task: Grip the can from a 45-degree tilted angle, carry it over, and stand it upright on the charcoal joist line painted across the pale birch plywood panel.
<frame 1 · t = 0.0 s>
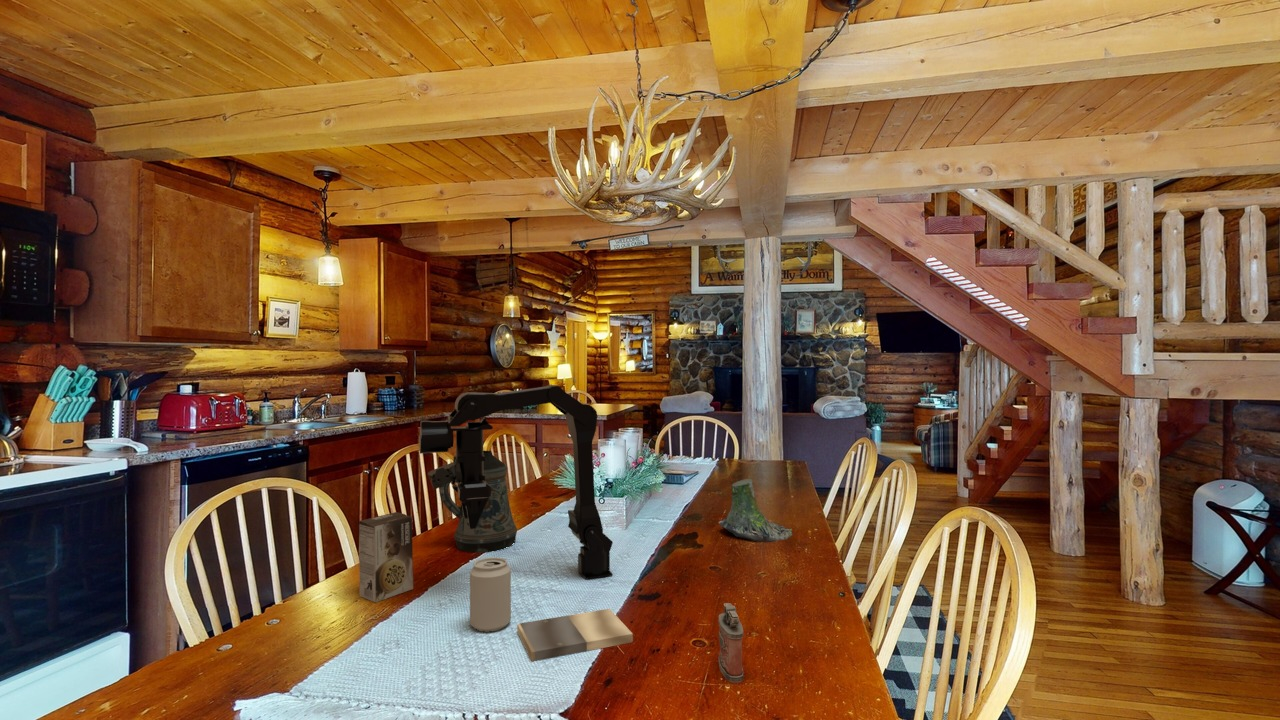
hand: (469, 523, 134), 15 cm above the table, tool pointing down, fingers open, 9 cm apart
subfloor panel: (573, 637, 112), on the table
coffee box: (386, 593, 134), on the table
can: (490, 626, 117), on the table
tree stump: (755, 534, 179), on the table
lighter: (730, 670, 101), on the table
beer stein: (481, 545, 168), on the table
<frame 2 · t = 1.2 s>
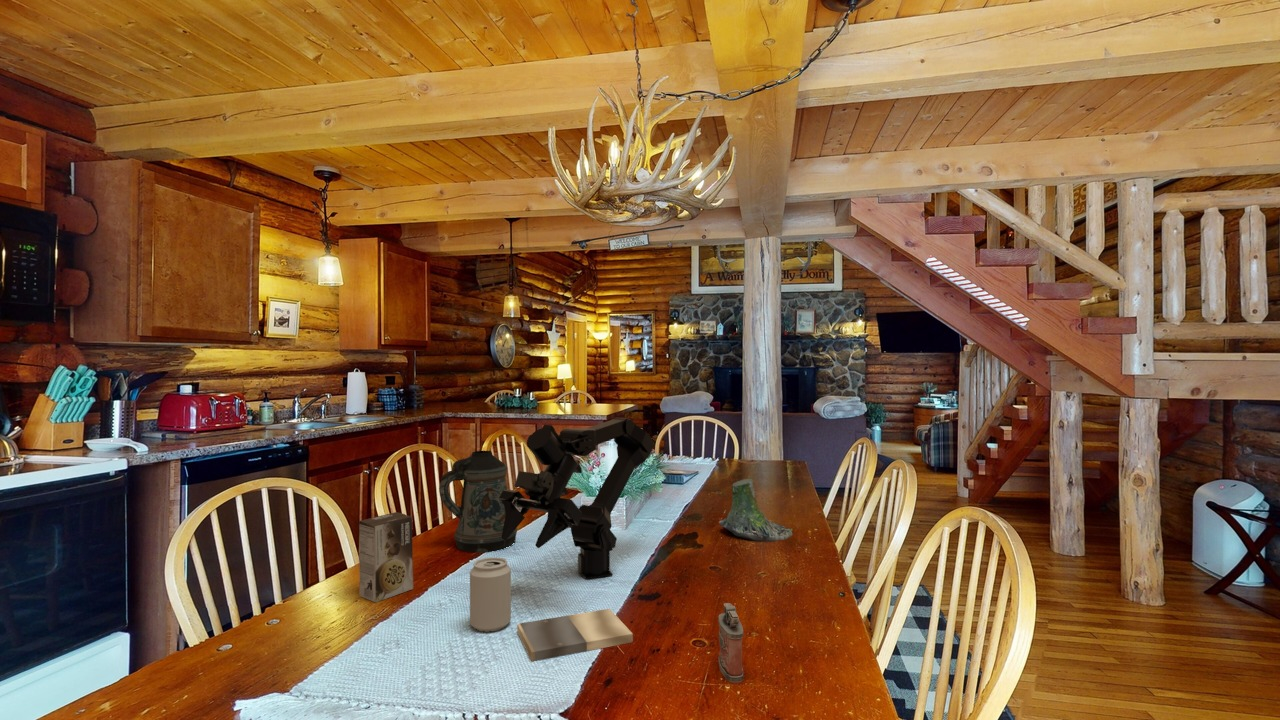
hand: (519, 543, 124), 13 cm above the table, tool tilted 45°, fingers open, 9 cm apart
nothing on the table moved.
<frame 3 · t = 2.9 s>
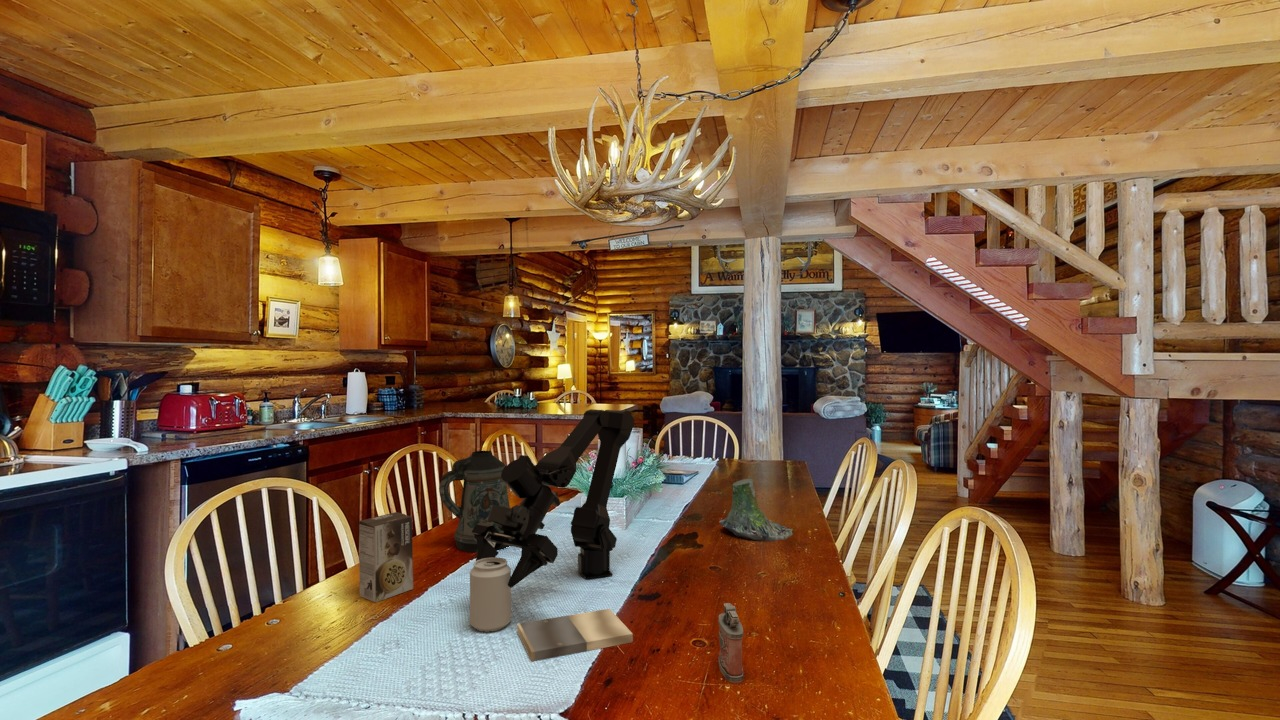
hand: (491, 581, 118), 8 cm above the table, tool tilted 45°, fingers open, 9 cm apart
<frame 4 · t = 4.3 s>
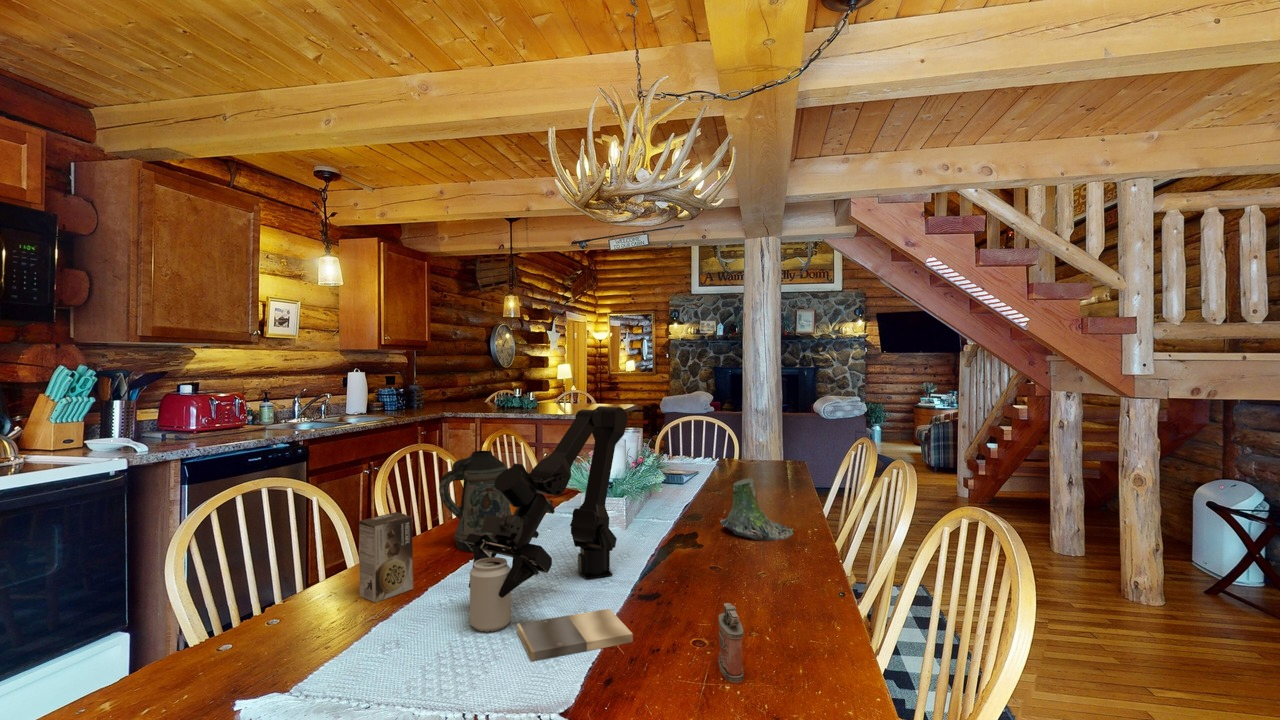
hand: (485, 592, 116), 7 cm above the table, tool tilted 45°, fingers closed on can, 7 cm apart
can: (490, 626, 117), on the table, touching gripper
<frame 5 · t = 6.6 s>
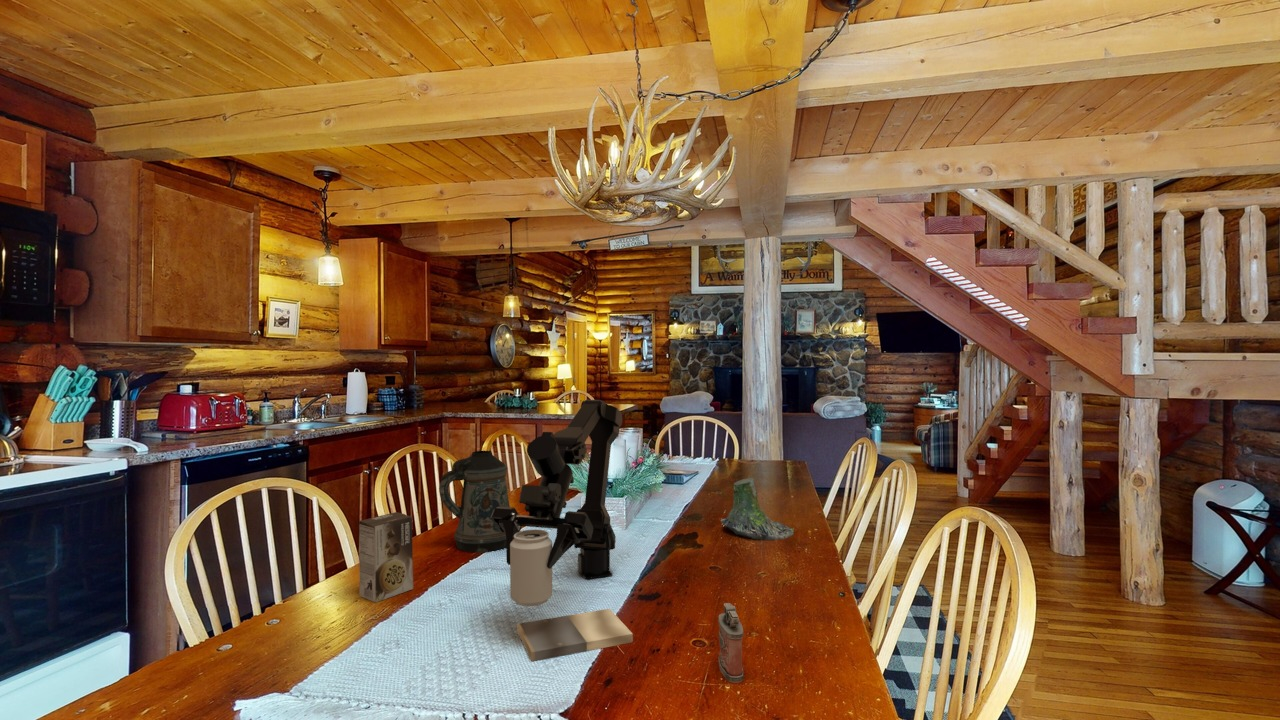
hand: (528, 565, 111), 13 cm above the table, tool tilted 45°, fingers closed on can, 7 cm apart
can: (531, 600, 112), point 7 cm above the table, touching gripper
when the fingers open (9 cm above the table, at t = 8.9 s): can stays where it is, resting on subfloor panel.
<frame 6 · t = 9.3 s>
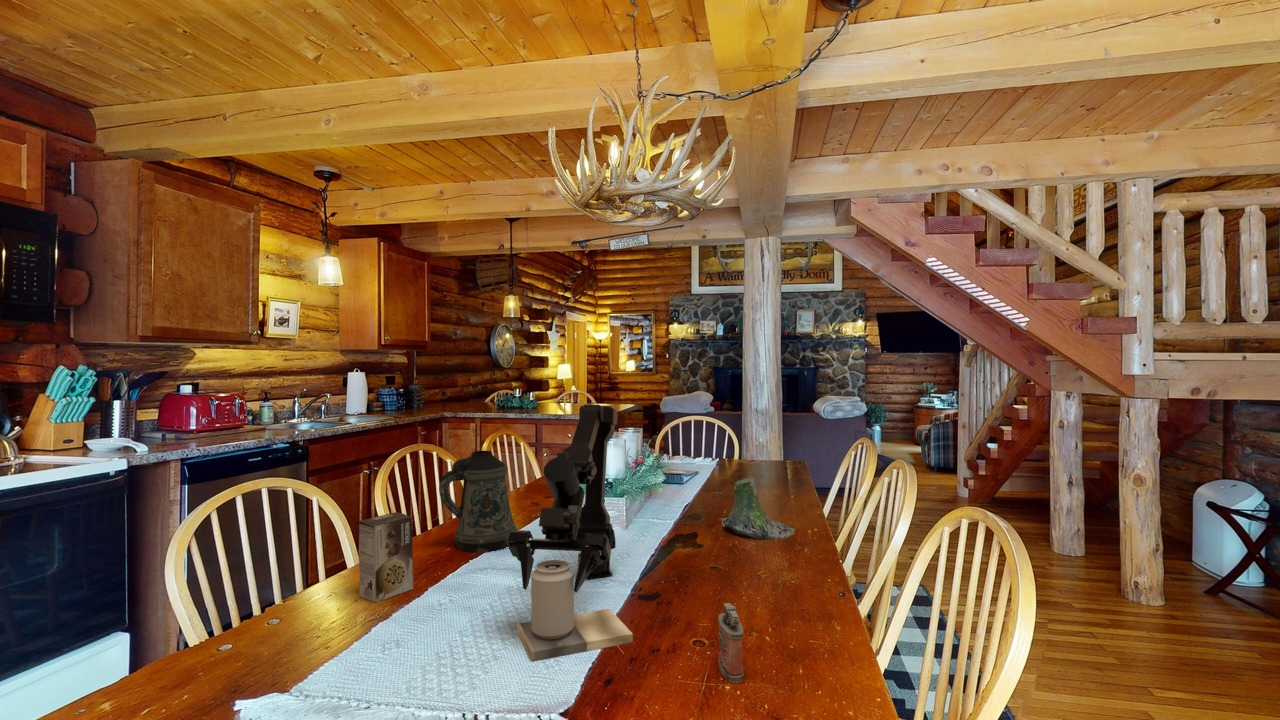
hand: (549, 590, 109), 10 cm above the table, tool tilted 45°, fingers open, 9 cm apart
can: (552, 633, 111), point 1 cm above the table, touching subfloor panel
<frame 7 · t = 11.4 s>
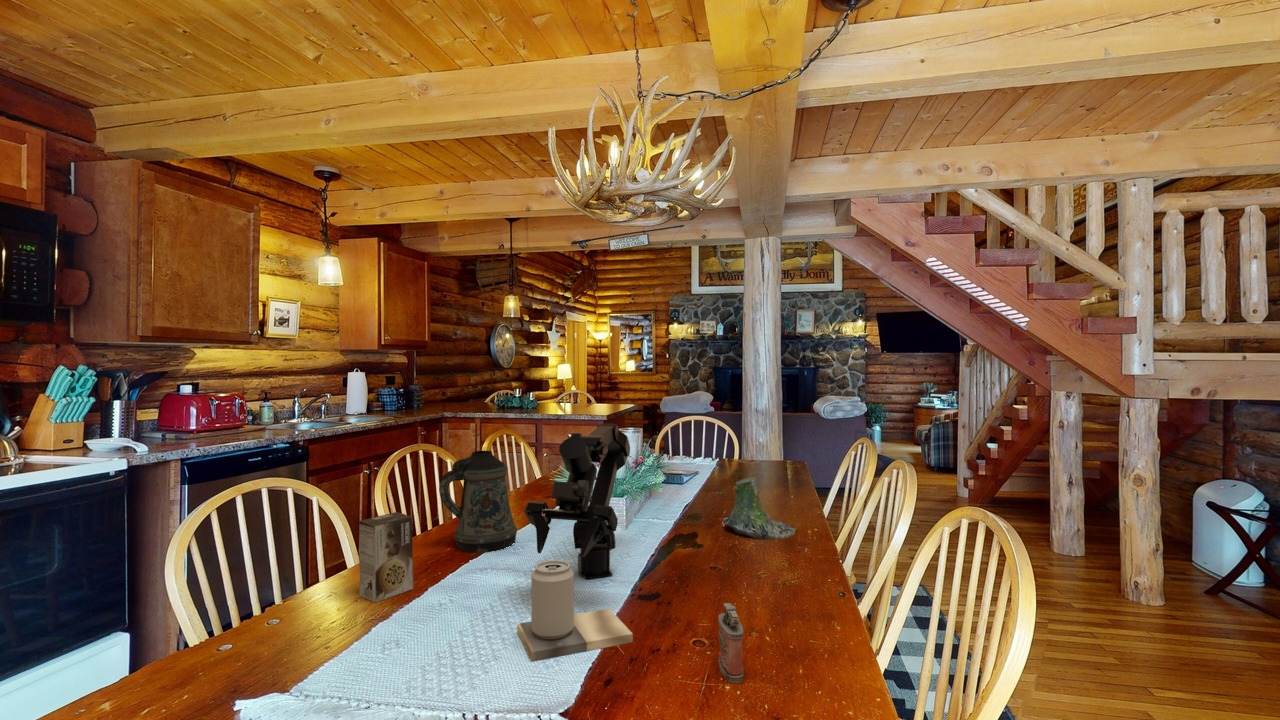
hand: (560, 554, 123), 12 cm above the table, tool tilted 45°, fingers open, 9 cm apart
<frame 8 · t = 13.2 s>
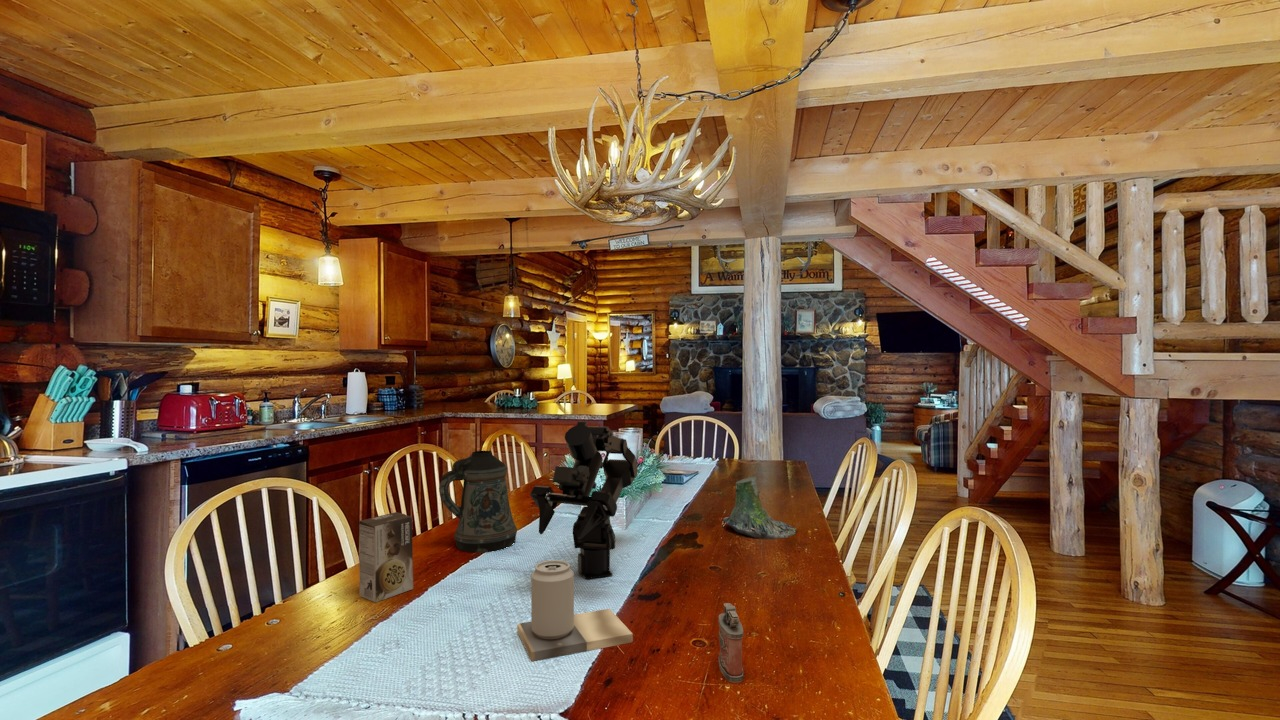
hand: (559, 535, 129), 14 cm above the table, tool tilted 45°, fingers open, 9 cm apart
at the end: can 0.1 cm from the target spot, point 1.3 cm above the table; can tilted 0°; the gripper is holding nothing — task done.
